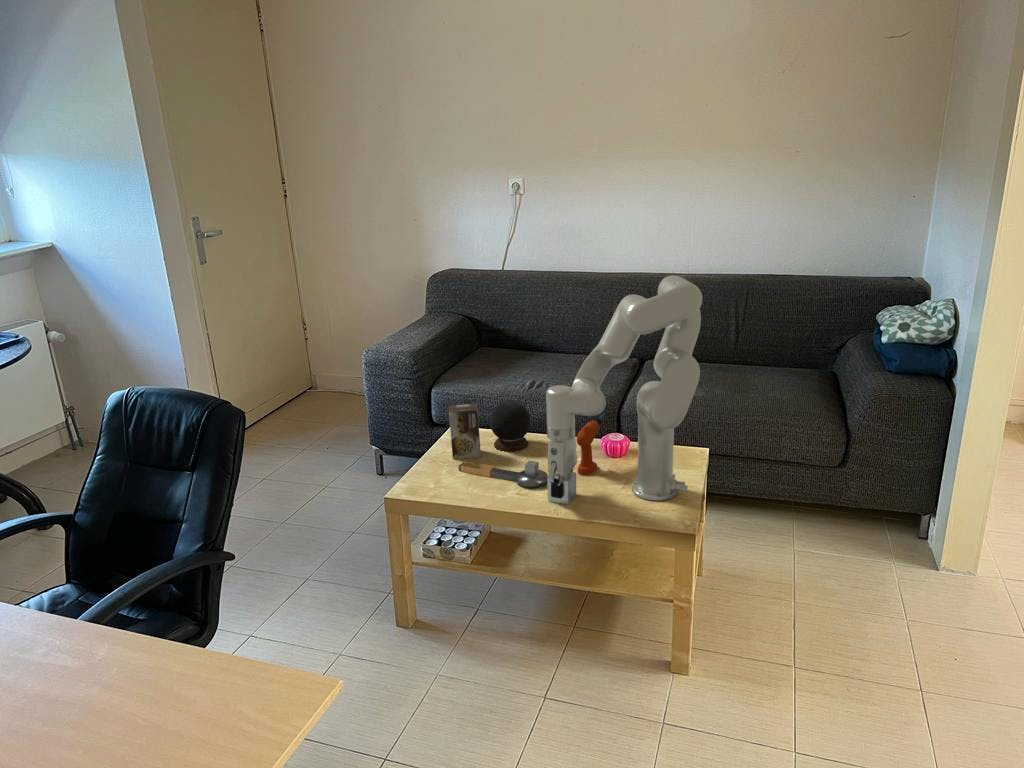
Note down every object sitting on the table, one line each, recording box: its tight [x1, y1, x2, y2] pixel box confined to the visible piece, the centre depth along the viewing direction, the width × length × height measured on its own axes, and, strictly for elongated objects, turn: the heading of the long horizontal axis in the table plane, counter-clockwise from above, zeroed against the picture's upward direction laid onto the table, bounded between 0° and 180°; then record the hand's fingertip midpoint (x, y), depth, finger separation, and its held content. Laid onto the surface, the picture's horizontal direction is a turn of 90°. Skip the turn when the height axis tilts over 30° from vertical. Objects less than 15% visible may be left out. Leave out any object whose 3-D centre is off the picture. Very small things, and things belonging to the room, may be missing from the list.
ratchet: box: [458, 460, 549, 490], centre depth 215 cm, size 28×9×6 cm, turn 63°
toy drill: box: [576, 412, 607, 476], centre depth 219 cm, size 5×19×15 cm, turn 150°
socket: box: [546, 471, 577, 506], centre depth 200 cm, size 6×6×7 cm
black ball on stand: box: [489, 400, 532, 453], centre depth 236 cm, size 13×13×15 cm
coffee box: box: [448, 402, 482, 460], centre depth 230 cm, size 9×6×16 cm
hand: (562, 491), depth 201 cm, fingers open, 6 cm apart
